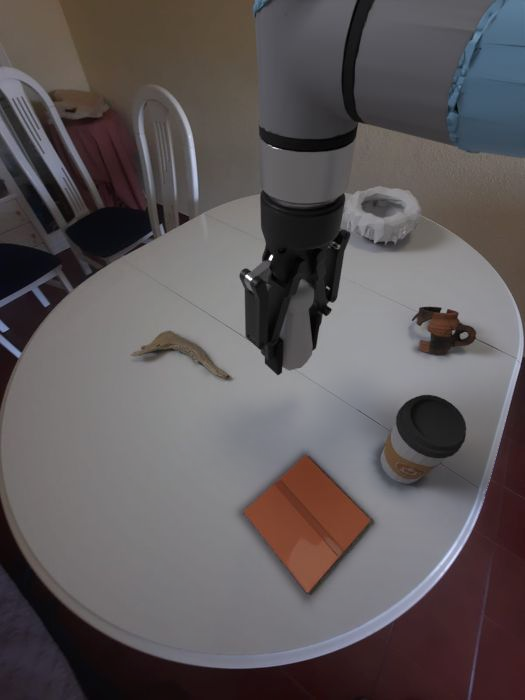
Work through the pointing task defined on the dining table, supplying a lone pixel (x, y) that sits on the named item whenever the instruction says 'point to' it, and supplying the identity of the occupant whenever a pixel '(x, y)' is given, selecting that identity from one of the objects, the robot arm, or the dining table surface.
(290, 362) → the salt shaker
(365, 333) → the dining table surface
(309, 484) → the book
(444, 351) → the pottery mug
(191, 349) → the curved driftwood piece
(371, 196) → the bowl
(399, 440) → the coffee cup
